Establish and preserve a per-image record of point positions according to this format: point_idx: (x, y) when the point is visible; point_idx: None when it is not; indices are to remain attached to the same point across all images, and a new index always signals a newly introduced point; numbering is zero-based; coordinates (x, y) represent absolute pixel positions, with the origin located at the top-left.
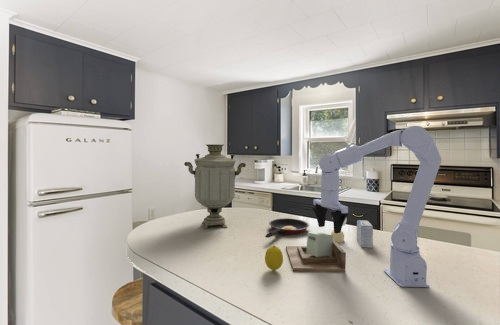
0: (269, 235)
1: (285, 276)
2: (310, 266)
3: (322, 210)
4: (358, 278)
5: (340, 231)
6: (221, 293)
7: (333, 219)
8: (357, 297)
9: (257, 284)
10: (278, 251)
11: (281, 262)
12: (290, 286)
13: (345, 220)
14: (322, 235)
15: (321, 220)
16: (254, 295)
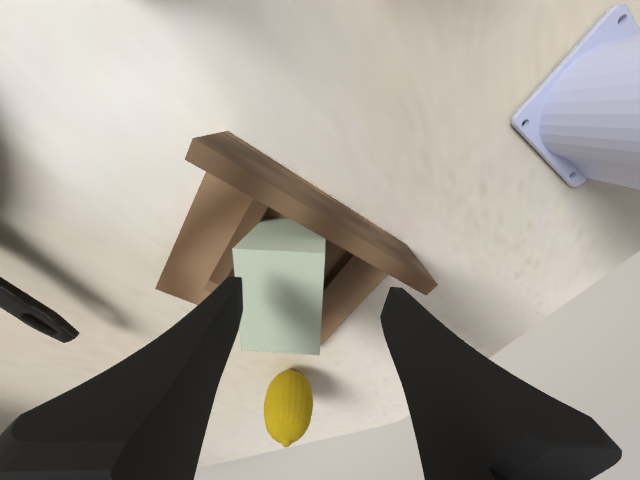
0: (63, 331)
1: (325, 363)
2: (334, 316)
3: (178, 444)
4: (452, 243)
5: (407, 294)
6: (312, 438)
7: (421, 432)
8: (479, 308)
9: (320, 403)
10: (305, 428)
11: (310, 392)
12: (361, 372)
13: None
14: (320, 327)
15: (225, 337)
16: (345, 415)
